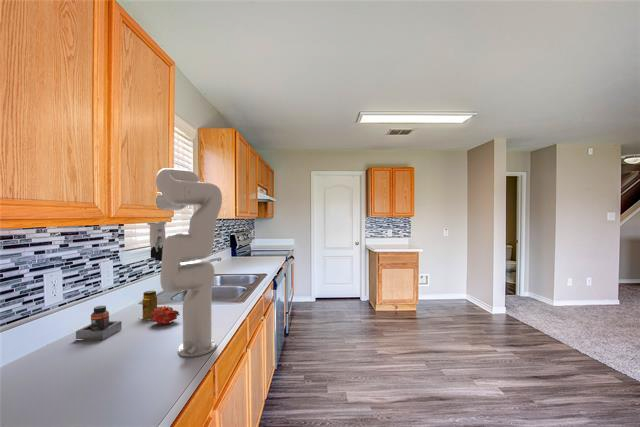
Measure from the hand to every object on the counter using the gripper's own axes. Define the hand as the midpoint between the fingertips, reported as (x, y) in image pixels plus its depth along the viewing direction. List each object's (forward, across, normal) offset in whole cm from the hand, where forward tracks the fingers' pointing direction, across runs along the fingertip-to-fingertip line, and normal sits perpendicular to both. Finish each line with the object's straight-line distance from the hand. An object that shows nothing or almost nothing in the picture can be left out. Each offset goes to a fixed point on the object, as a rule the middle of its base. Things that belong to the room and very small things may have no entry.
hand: (156, 259), depth 133 cm
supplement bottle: (+28, -2, +21) cm, 35 cm away
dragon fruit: (+28, -6, -2) cm, 29 cm away
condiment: (+28, +8, 0) cm, 30 cm away
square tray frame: (+28, -2, +21) cm, 35 cm away
